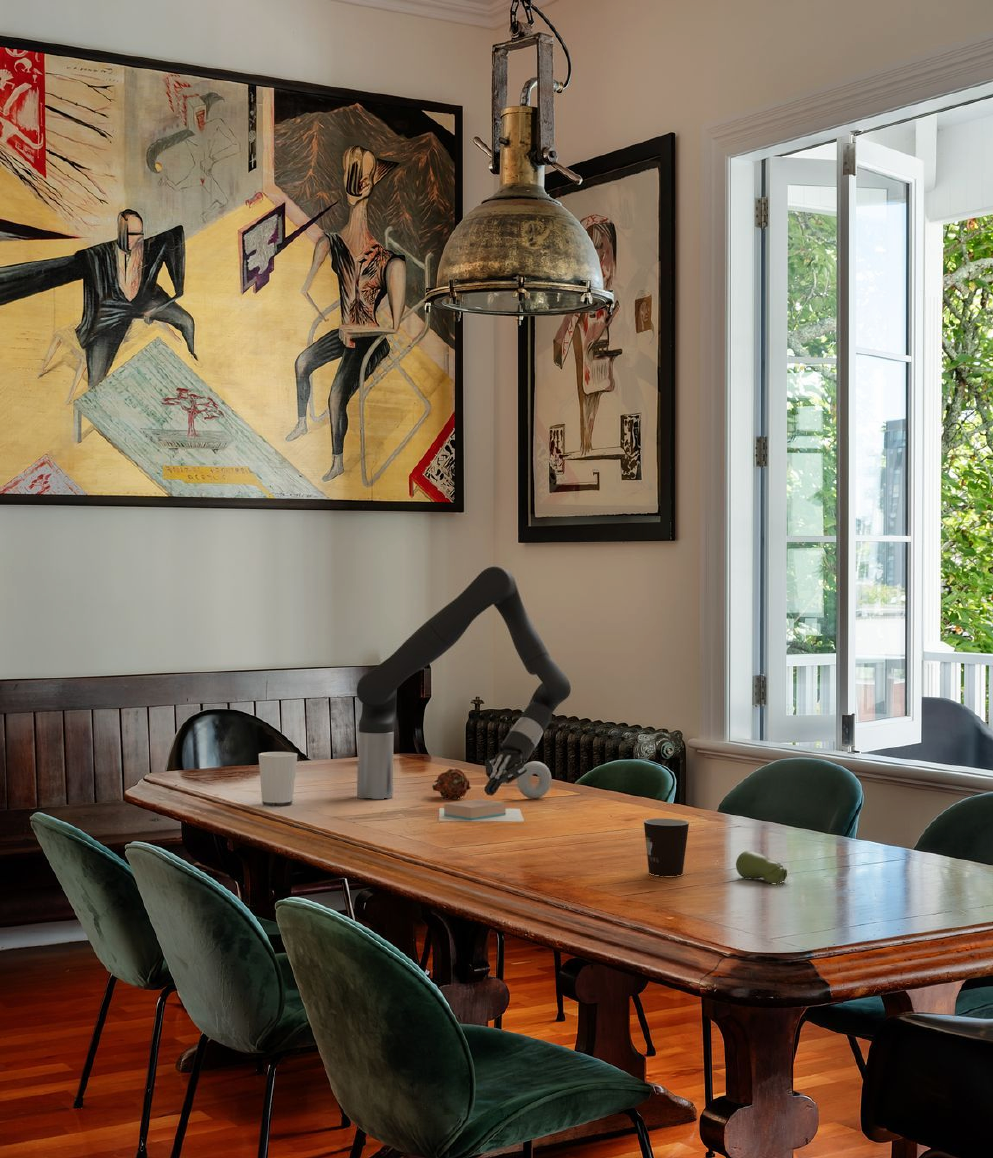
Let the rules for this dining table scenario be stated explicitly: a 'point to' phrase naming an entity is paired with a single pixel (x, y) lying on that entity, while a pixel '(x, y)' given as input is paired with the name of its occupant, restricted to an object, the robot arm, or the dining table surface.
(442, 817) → the felt mat
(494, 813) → the teal rectangular block
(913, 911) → the dining table surface
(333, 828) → the dining table surface
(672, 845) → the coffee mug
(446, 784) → the brown textured round lump
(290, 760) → the cup
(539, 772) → the donut
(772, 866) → the pear
